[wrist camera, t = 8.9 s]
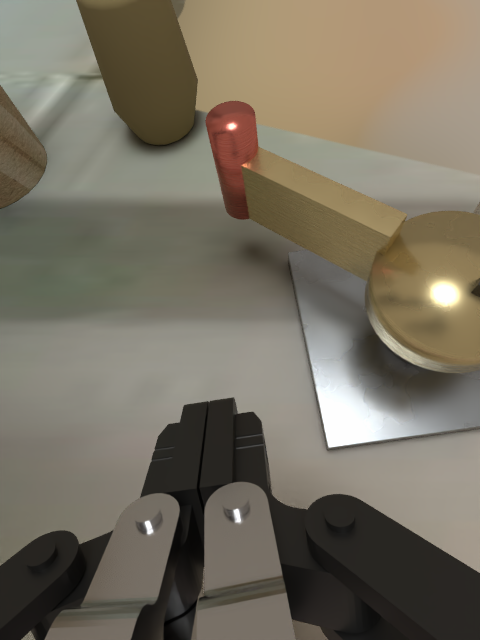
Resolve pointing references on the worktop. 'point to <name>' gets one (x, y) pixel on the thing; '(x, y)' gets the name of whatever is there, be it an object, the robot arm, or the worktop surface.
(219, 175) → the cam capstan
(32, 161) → the tube
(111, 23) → the squeeze bottle
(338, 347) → the stand
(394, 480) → the worktop surface
